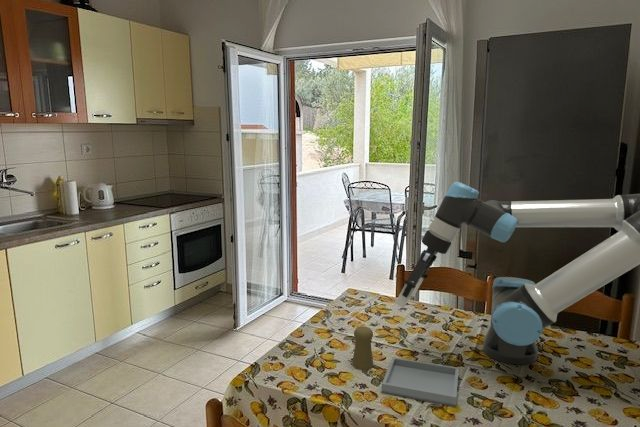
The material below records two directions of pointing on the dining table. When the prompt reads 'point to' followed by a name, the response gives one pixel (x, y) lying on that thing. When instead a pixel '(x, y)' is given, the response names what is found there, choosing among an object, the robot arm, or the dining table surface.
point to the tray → (421, 381)
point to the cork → (363, 349)
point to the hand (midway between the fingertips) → (404, 299)
